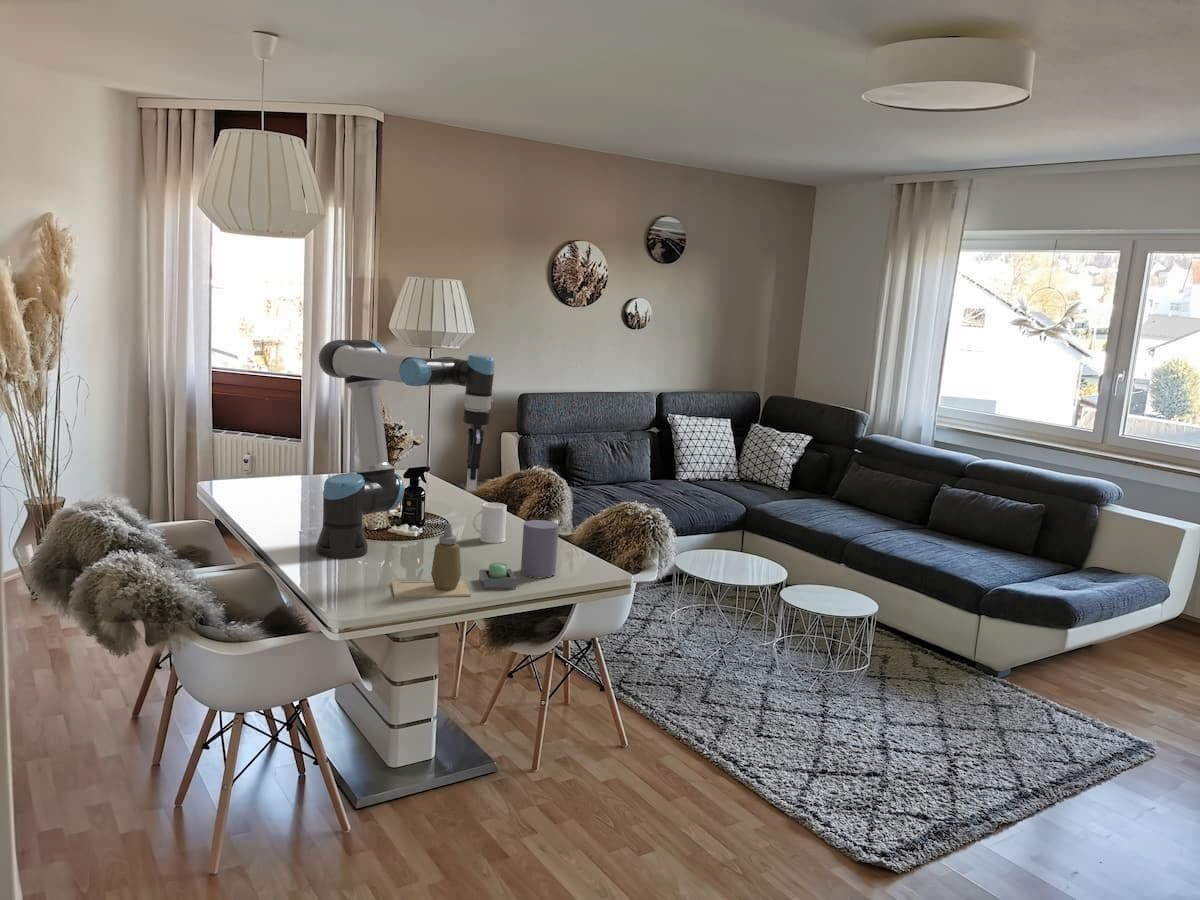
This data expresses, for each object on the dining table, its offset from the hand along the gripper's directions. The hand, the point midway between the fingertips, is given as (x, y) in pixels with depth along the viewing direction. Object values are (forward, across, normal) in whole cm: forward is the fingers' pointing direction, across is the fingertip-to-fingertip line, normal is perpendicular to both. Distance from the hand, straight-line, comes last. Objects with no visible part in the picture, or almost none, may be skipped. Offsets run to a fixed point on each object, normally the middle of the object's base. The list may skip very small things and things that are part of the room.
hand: (471, 489), depth 263 cm
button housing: (+24, -14, -7) cm, 28 cm away
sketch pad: (+24, -18, +12) cm, 32 cm away
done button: (+23, -14, -7) cm, 28 cm away
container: (+24, -3, -21) cm, 32 cm away
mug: (+25, +34, -12) cm, 44 cm away
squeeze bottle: (+24, -18, +8) cm, 30 cm away
